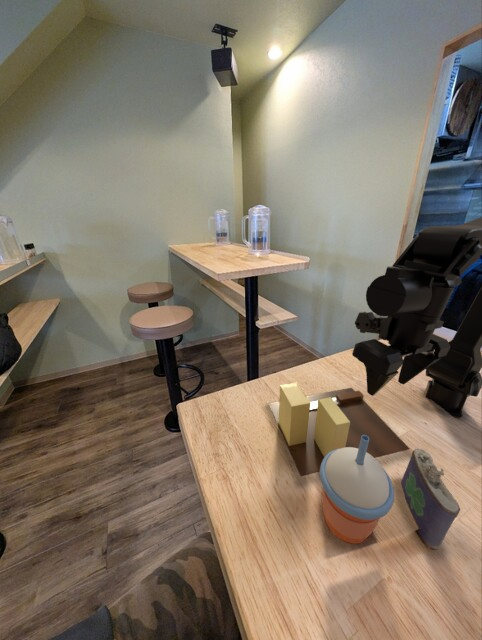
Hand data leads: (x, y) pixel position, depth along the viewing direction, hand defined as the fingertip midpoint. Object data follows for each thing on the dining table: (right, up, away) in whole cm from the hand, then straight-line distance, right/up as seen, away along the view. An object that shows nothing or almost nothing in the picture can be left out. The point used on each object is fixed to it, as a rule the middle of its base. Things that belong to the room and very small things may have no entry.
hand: (386, 388), depth 46 cm
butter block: (-16, -10, +5) cm, 20 cm away
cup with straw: (-11, -18, -8) cm, 23 cm away
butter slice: (-11, -12, +1) cm, 16 cm away
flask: (0, -17, -8) cm, 19 cm away
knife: (-6, -7, +12) cm, 15 cm away
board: (-8, -11, +7) cm, 15 cm away
